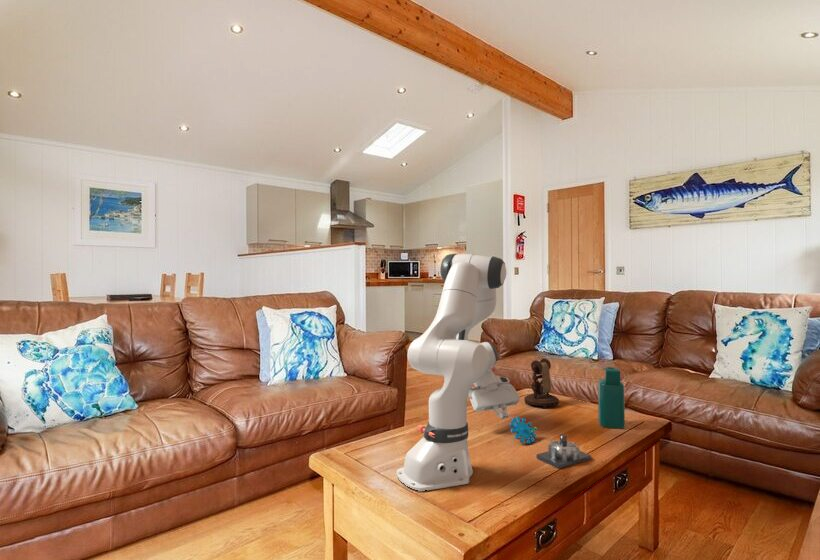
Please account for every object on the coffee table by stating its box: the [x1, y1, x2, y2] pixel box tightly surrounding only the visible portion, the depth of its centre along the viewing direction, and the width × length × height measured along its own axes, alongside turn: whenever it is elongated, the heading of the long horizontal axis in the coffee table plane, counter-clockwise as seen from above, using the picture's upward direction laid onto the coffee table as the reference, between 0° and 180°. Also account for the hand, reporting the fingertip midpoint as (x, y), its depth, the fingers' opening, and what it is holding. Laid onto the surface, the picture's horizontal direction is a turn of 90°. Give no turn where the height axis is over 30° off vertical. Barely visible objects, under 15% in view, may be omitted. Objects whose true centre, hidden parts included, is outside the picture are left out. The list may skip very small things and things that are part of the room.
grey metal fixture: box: [536, 434, 592, 470], centre depth 138 cm, size 14×9×7 cm, turn 118°
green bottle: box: [597, 366, 626, 429], centre depth 167 cm, size 10×8×22 cm
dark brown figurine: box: [523, 358, 560, 410], centre depth 196 cm, size 15×15×20 cm
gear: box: [509, 416, 538, 445], centre depth 154 cm, size 11×6×10 cm
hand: (504, 417), depth 162 cm, fingers closed
